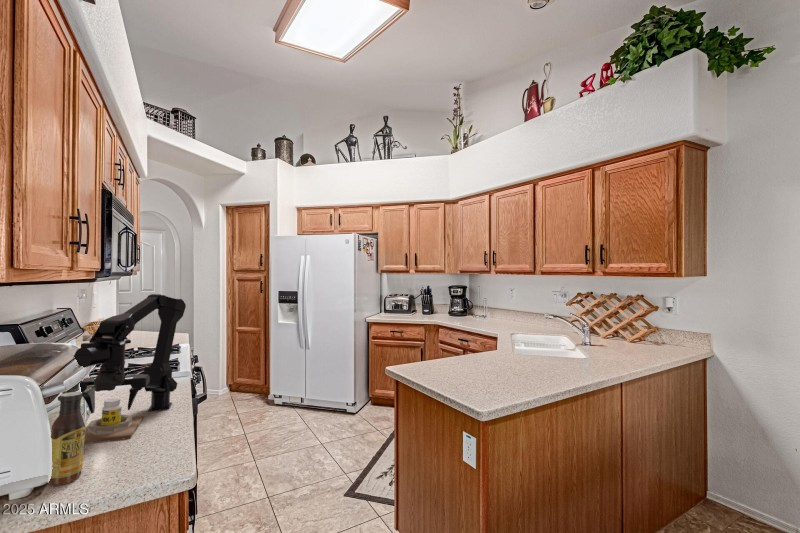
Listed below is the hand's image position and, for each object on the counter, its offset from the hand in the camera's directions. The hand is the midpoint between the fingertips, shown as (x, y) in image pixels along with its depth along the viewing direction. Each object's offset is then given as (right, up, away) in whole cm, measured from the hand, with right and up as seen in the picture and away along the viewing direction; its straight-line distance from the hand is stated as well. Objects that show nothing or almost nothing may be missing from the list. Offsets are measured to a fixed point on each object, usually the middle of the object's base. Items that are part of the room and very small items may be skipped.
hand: (111, 411), depth 116 cm
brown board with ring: (0, -6, 0) cm, 6 cm away
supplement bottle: (0, -5, 0) cm, 5 cm away
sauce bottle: (+10, -6, -27) cm, 30 cm away
